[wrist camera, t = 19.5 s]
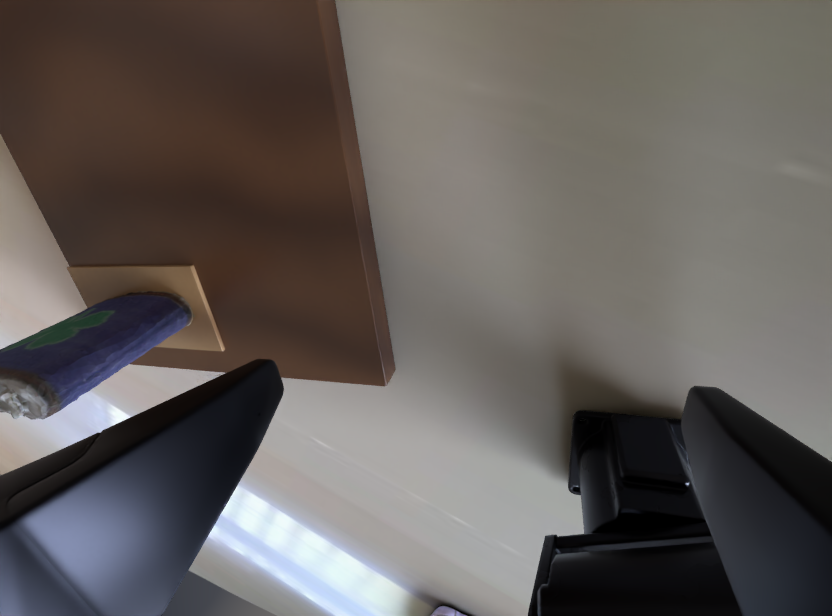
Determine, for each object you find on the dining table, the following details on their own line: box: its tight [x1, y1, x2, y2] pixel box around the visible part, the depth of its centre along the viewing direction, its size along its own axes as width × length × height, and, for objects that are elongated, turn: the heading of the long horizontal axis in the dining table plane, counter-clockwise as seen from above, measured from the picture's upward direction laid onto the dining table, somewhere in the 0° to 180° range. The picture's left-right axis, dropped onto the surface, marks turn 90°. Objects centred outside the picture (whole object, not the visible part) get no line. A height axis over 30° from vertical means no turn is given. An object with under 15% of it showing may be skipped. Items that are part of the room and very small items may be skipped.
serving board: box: [0, 0, 395, 386], centre depth 23 cm, size 22×22×2 cm
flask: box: [0, 291, 195, 419], centre depth 22 cm, size 9×3×11 cm, turn 104°
